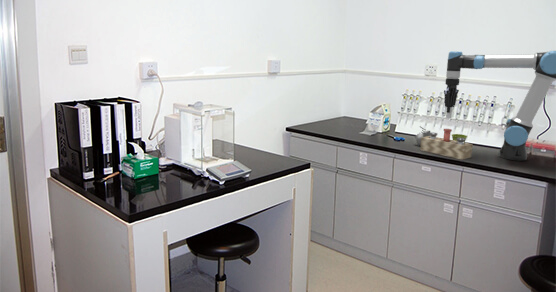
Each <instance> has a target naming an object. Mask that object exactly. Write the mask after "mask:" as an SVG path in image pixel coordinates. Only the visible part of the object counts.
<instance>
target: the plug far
mask: <svg viewBox="0 0 556 292" xmlns="http://www.w3.org/2000/svg"><path fill="white" fill-rule="evenodd" d="M436 137H438V132H430V138H431V139H436Z"/></svg>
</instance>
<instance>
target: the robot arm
mask: <svg viewBox="0 0 556 292" xmlns="http://www.w3.org/2000/svg"><path fill="white" fill-rule="evenodd" d="M485 68H487V69H493V68H494V69H533V70H534V75H535V78H534V79H533V81H532V83H531V85H530V87H529V89H528V92H527V94H526V95H525V97H524V99H523V101H522V103H521V106H520V108H519V109H518V111H517V113H516V115H515V116H514V117H511V118H508V119H507V121H506V126H505V131H504V133H503V144H502V146H501V147H500V149H499V152H498V157H500V158H502V159H505V160H509V161H510V160H511V161H527V160H528V159H527V158H528V152H527V147H526V146H527V145H526V144H527V141H528V138H529V135H530V133H531V131H532V130H533V128H534V125H533V120H534V119H535V117H536V115H537V113H538V111H539V110H540V107H541V106H542V103H543V101H544V99H545V97H546V96H547V94H548V92H549V90H550V88H551V86H552V84H553V82H555V81H556V50H549V51H544V52H543V51H542V52H535V53H534V54H472V55H470V54H469V55H467V54H463V52H462V51H457V50H456V51H455V50H454V51H449V52H448V56H447V65H446V72H445V74H446V75H445V77H446V79H445V83H444V84H445V85H446V89H445V90H444V91H443V94H444V106H445V108H446V112H445V118H446V119H452V114H453V108H455V107H456V106H455V105H456V102H457V97H458V94H459V91H460V90H459V89H457V88H458V86H459V85H460V77H461V69H471V70H482V69H485Z"/></svg>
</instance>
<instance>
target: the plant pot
mask: <svg viewBox="0 0 556 292" xmlns="http://www.w3.org/2000/svg"><path fill="white" fill-rule="evenodd" d="M451 137H452V140H455V141H457V138H464V139H465V141H464V142H465V143H466V140H467V138H468V135H466V134H460V133H452V134H451Z"/></svg>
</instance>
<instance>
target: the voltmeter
mask: <svg viewBox="0 0 556 292" xmlns="http://www.w3.org/2000/svg"><path fill="white" fill-rule="evenodd" d="M419 128H420V129H421V130H422V131H420V132H419V133H417V134H416V135H414V138H415V139H416V145H417V146H418V147H421V138H422V137H426V136H430V133H431V130H426V128H423V127H422V126H421V125H420V126H419Z"/></svg>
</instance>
